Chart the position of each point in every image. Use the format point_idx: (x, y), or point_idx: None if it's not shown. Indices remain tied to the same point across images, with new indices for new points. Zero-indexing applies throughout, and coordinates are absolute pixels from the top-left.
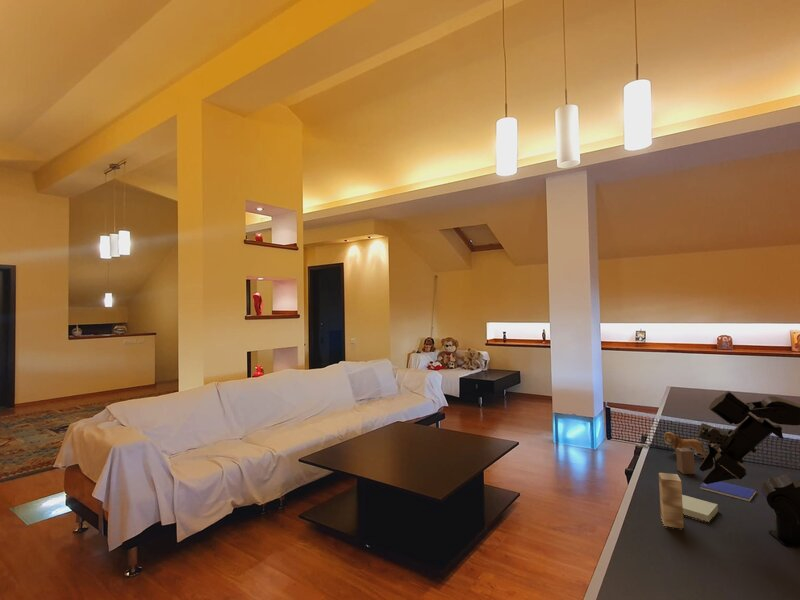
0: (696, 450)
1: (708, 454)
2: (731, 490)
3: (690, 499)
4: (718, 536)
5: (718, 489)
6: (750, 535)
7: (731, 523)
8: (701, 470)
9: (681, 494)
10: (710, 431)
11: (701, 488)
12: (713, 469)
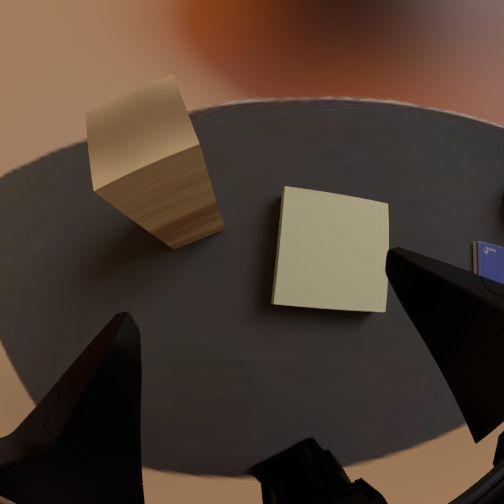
0: None
1: (501, 312)
2: None
3: (370, 232)
4: (194, 339)
5: None
6: (262, 407)
7: (313, 358)
8: (385, 265)
9: (126, 214)
10: None
11: (473, 244)
12: (27, 419)
